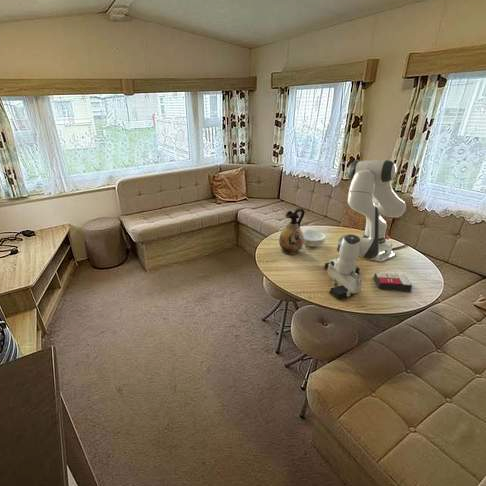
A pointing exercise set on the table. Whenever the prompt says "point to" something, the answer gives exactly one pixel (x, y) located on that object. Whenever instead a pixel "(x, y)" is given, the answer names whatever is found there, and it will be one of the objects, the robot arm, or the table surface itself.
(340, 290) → the pad
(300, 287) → the table surface
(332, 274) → the robot arm
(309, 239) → the cereal bowl
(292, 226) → the ceramic jug
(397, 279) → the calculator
